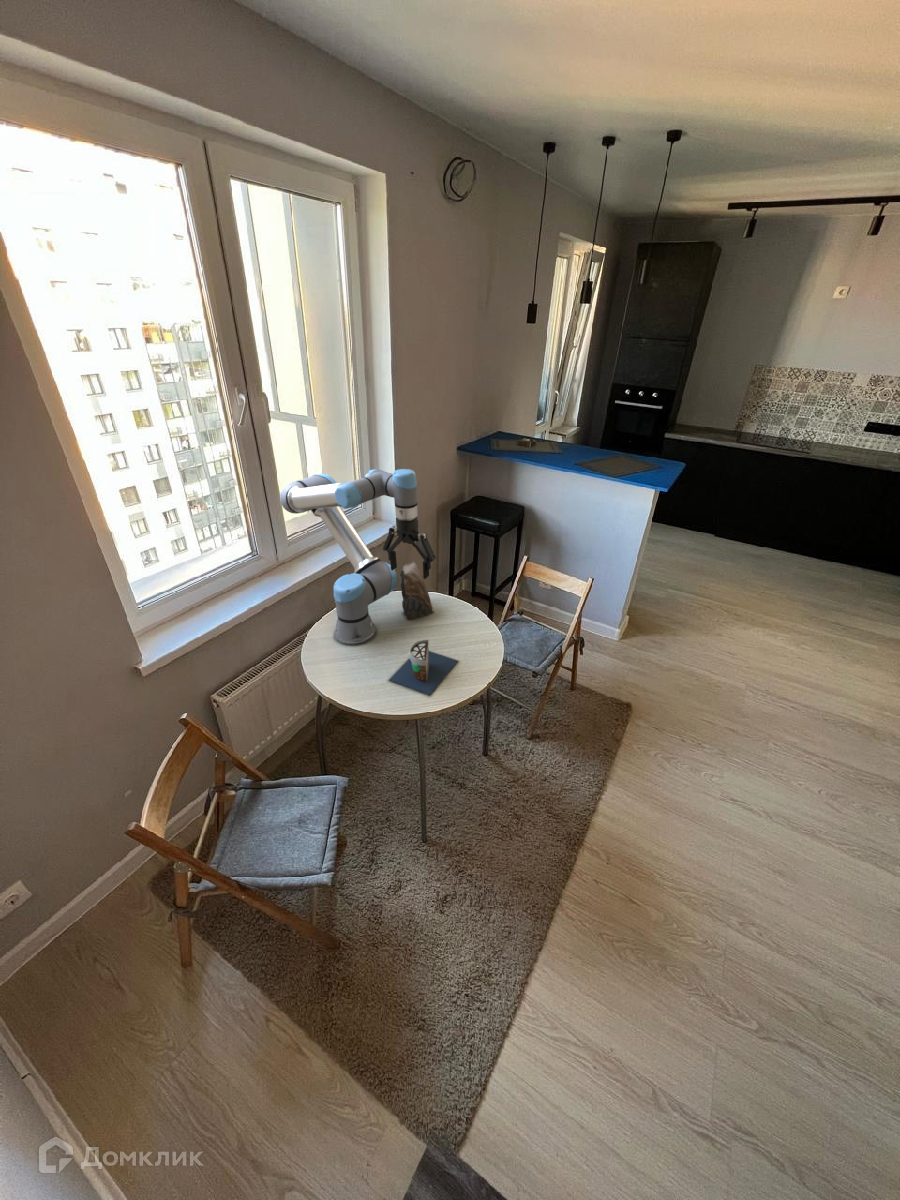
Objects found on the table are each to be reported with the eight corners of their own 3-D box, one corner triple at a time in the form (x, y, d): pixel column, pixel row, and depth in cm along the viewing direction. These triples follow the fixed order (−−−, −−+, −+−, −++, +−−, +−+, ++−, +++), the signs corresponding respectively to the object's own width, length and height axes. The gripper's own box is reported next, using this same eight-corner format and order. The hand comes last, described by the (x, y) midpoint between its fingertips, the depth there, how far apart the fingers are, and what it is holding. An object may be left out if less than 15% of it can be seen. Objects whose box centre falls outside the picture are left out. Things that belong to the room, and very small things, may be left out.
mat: (389, 680, 166) (389, 679, 166) (419, 648, 181) (419, 647, 181) (430, 695, 160) (430, 694, 160) (458, 661, 175) (458, 660, 175)
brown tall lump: (406, 621, 196) (403, 578, 186) (393, 607, 206) (390, 564, 195) (434, 613, 202) (433, 570, 191) (420, 599, 211) (418, 557, 201)
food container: (412, 661, 174) (410, 638, 169) (429, 661, 174) (428, 638, 169) (407, 684, 164) (406, 660, 159) (426, 684, 164) (425, 661, 158)
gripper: (369, 514, 166) (375, 569, 177) (433, 527, 156) (435, 585, 167) (382, 507, 172) (386, 561, 183) (444, 519, 162) (445, 576, 173)
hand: (409, 572), depth 175 cm, fingers open, 13 cm apart
